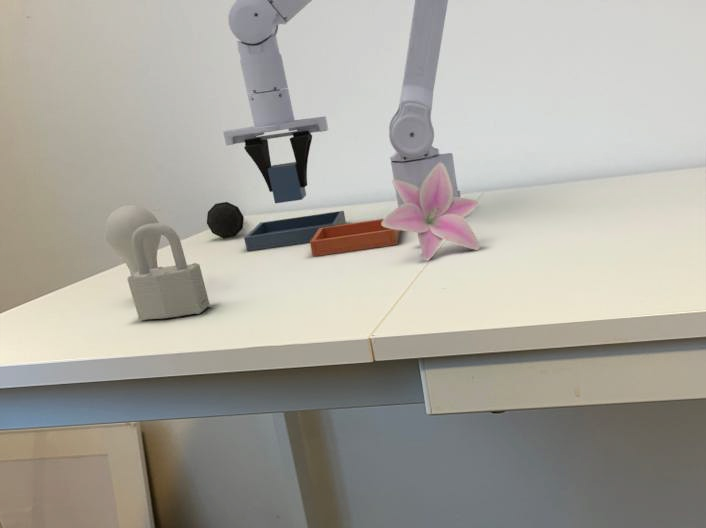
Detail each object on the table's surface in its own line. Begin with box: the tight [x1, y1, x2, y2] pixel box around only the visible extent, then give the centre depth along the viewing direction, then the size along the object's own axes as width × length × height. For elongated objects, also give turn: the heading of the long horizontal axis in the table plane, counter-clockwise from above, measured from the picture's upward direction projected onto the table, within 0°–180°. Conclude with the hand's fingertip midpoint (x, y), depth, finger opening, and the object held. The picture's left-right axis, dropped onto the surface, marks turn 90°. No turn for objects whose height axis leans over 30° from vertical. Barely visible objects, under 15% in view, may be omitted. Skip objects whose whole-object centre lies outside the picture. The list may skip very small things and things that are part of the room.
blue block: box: [268, 161, 307, 204], centre depth 118 cm, size 4×4×5 cm
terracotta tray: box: [309, 218, 401, 257], centre depth 110 cm, size 11×9×2 cm
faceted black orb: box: [206, 201, 245, 239], centre depth 134 cm, size 6×6×20 cm
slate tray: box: [243, 210, 347, 252], centre depth 120 cm, size 13×11×2 cm
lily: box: [381, 163, 481, 262], centre depth 98 cm, size 12×12×10 cm
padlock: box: [127, 222, 211, 321], centre depth 86 cm, size 7×4×10 cm, turn 87°
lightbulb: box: [104, 204, 162, 275], centre depth 96 cm, size 6×6×11 cm
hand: (288, 188), depth 118 cm, fingers closed on blue block, 4 cm apart
